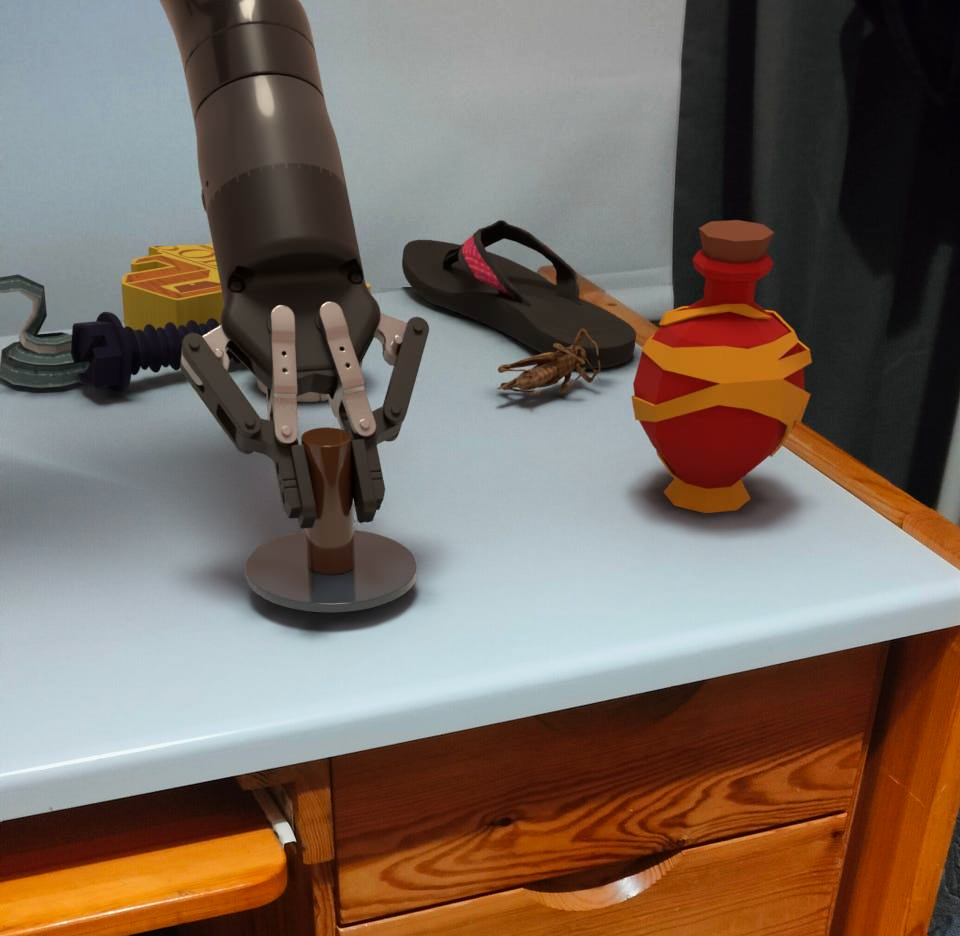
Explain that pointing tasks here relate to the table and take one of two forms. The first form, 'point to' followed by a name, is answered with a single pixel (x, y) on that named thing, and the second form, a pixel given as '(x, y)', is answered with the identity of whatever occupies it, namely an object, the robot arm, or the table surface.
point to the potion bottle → (721, 375)
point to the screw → (129, 349)
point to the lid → (331, 545)
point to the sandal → (516, 294)
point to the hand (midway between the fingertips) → (338, 518)
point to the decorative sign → (173, 287)
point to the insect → (550, 368)
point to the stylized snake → (37, 345)
